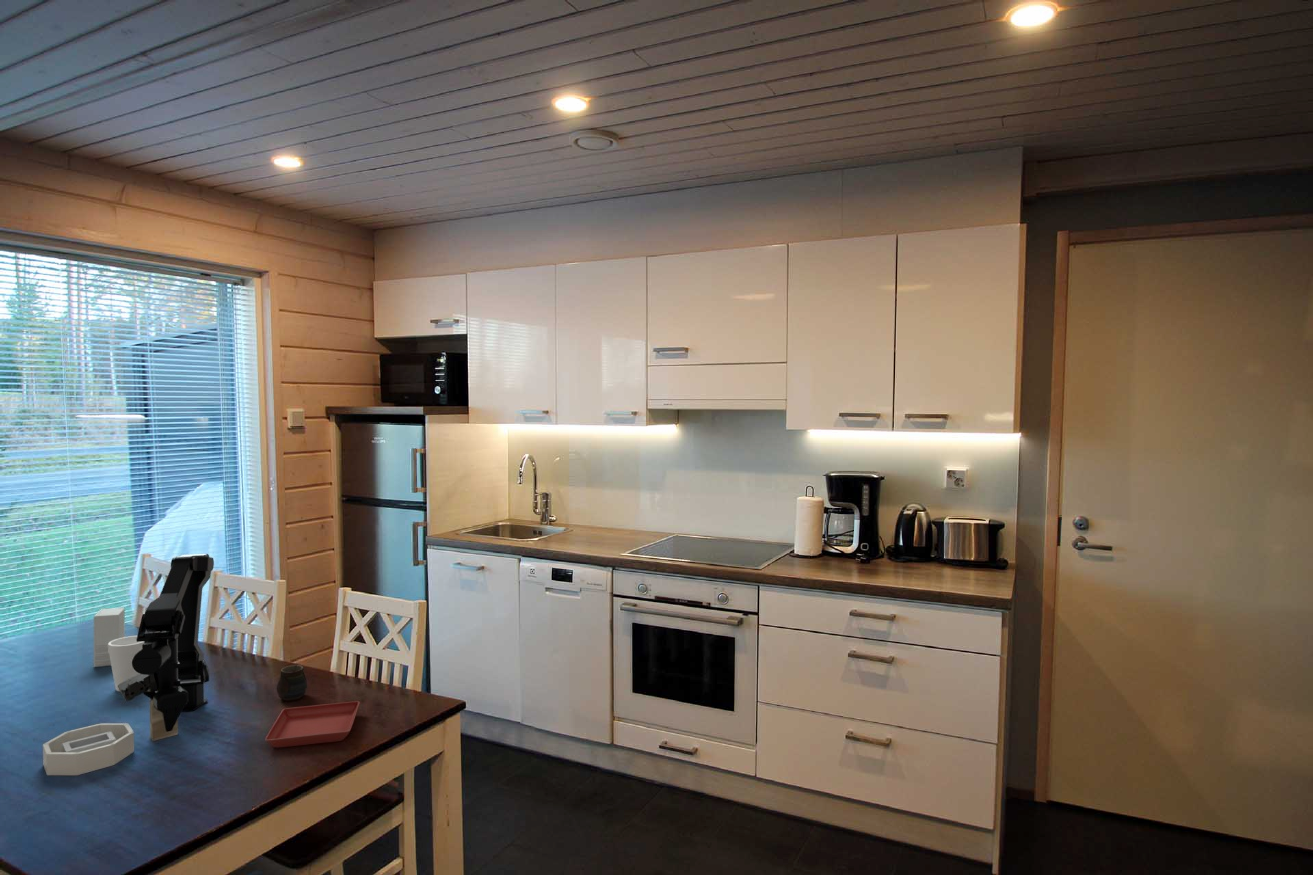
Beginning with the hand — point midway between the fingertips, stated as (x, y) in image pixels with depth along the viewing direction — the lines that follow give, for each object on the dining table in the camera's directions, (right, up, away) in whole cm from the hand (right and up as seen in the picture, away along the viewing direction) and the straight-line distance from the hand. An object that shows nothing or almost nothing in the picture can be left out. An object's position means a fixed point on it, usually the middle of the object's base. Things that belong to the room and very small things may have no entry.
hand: (164, 724), depth 170 cm
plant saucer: (+34, -3, +4) cm, 34 cm away
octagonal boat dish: (-9, -3, -11) cm, 15 cm away
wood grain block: (0, -3, 0) cm, 3 cm away
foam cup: (-30, -2, +29) cm, 42 cm away
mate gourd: (+19, -2, +23) cm, 30 cm away
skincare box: (-50, -1, +49) cm, 70 cm away
